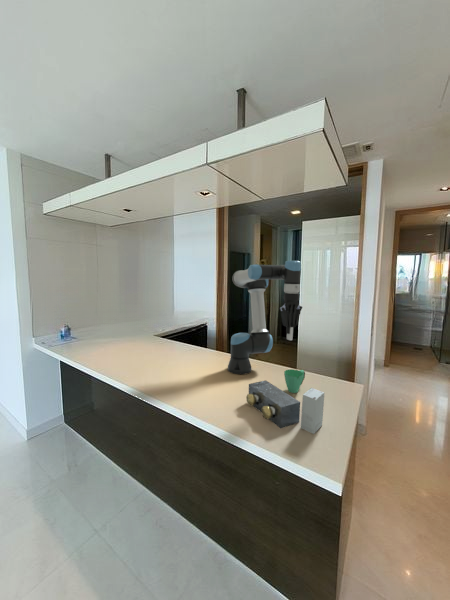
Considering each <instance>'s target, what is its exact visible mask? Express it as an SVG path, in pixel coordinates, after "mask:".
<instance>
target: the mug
mask: <svg viewBox="0 0 450 600" xmlns="http://www.w3.org/2000/svg"><path fill="white" fill-rule="evenodd" d="M283 373H284V381H285V384H286V387H287V391H288V392H289V393H292V394H297V393H298V392H299V390H300V388H301V386H302V385H303V382H304V380H305V377H306V371H305V370H304V369H299V370H298V369H293V368H291V369H286V370H285V371H284V372H283Z"/></svg>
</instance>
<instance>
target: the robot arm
mask: <svg viewBox="0 0 450 600" xmlns="http://www.w3.org/2000/svg"><path fill="white" fill-rule="evenodd" d="M301 266H302V265H301V261H299V260H286V261H285V262H284V264H257V263H256V264H250V265H249V266H248V268H247V269H244V270H243V269H242V270H236V271H235V272H234V273H233V275H232V277H231V278H232V282H233V283H232V284H234V285H235V286H236V287H238V288H242V289H247V291H248V293H249V294H250V303H251V304H250V305H251V306H250V307H251V321H252V322H251V323H252V330H251V331H250V333H249V332H238V333H234V334H232V336H231V338H230V359H229V361H228V364H227V371H228V372H229V373H231V374H234V375H247V374H249V373H251V372H252V365H251V361H250V354H251V355H252V354H265V353H269V352H270V351H271V350H272V348H273V344H274V339H273V338H274V337H273V336H272V335H271V334H270V333H269V330H268V329H267V325H266V324H267V323H266V310H265V309H266V308H265V294H264V292H266V289H267V288H268V286H269V283H270V282H269V280H273V281H275V280H276V281H277V280H283V281H284V283H283V292H284V293H283V305H282V306H279V308H278V309H279V311H280V316H281V322H282V326H284V327H285V333H286V340H288V341H293V337H294V333H295V331H294V330H295V328H296V327H297V326H298V325H299V320H300V315H301V311H302V309H303V306H301V305H300V303H299V301H300V292H301V290H300V289H301V275H302V274H301V273H302V267H301Z"/></svg>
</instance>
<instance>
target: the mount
mask: <svg viewBox="0 0 450 600" xmlns="http://www.w3.org/2000/svg"><path fill="white" fill-rule="evenodd" d="M251 393H252V394H254V395H255V394H257V395H258V396H259V400H258V402H256V404H255V405H252V407H254V408H255V409H257V411H259V413H260V414H262V407H263V406H267V405H268V406H270V407H271V406H273V407H274V408H275V415H273V416H272V418H269V419H268V420H270V422H272V423H273V424H274V425H276V427H278V428H279V429H283V428H286V427H287V428H288V427H290V426H293V425H295V424H298V423H300V418H301V416H300V415H301V402H300V400H298V399H296V398H295V397H293V396H291V395H290V394H288V393H287V392H286V391H283V390H282V389H280V388H279V387H277V386H276V385H274V384H273V383H271V382H269V381H268V380H259V381H256V382H252V383H249V384H248V394H251Z"/></svg>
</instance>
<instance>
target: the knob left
mask: <svg viewBox="0 0 450 600" xmlns="http://www.w3.org/2000/svg"><path fill="white" fill-rule="evenodd" d="M258 400H259V396H258V395H257V394H255V395H254V394H252V393H251V394H249V393H247V395H246V402H247V405H248V406H250V407H251V406H252V407H253V405H255V404H256V402H258Z"/></svg>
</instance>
